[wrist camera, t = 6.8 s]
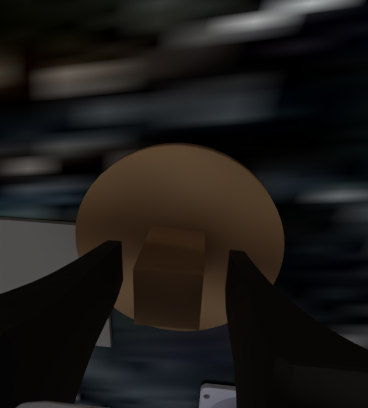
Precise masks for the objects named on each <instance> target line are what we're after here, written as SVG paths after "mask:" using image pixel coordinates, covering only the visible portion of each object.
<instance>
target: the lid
mask: <svg viewBox="0 0 368 408" xmlns="http://www.w3.org/2000/svg"><path fill="white" fill-rule="evenodd" d="M75 239H76V248H77V253H78V257H79V258H80V257H81V256H83V255H84V254H86V253H88V252H89V251H91V250H92V249H94V248H96V247H97V246H99V245H100V244H102V243H104V242H106V241H107V240H113V241H122V261H123V283H122V286H121V289H120V292H119V295H118V298H117V301H116V303H115V305H114V308H116V309H117V310H118V311H120V312H122V313H123V314H125V315H126V316H128V317H130V318H132V319H134V324H140V325H149V326H153V327H157V328H161V329H167V330H173V331H197V330H204V329H210V328H214V327H217V326H221V325H223V324H226V323H228V322H227V316H226V306H225V284H226V276H227V268H228V259H229V251H230V250H238V251H244V252H245V253H246V254H247V255H248V257H249V258H250V259H251V260H252V262H253V263H254V264H255V265H256V267H257V268H258V269H259V270H260V271H261V273H262V274H263V275H264V276H265V277H266V278H267V279H268V280H269V281H270V283H271V284H272V285H273V284H274V282H275V280H276V278H277V276H278V274H279V271H280V268H281V264H282V261H283V254H284V232H283V227H282V222H281V219H280V216H279V213H278V211H277V208H276V206H275V205H274V203H273V201H272V199H271V197H270V195H269V194H268V192H267V190H266V189H265V188H264V186H263V185H262V183H261V182H260V181H259V179H258V178H257V177H256V176H255V175H254V174H253V173H252V172H251V171H250V170H249V169H248V168H246V167H245V166H244V165H242V164H241V163H240V162H239V161H237V160H235V159H234V158H232V157H230V156H228V155H227V154H225V153H222V152H220V151H217V150H215V149H213V148H209V147H205V146H201V145H197V144H189V143H164V144H157V145H152V146H149V147H145V148H142V149H139V150H137V151H135V152H133V153H130V154H128V155H127V156H125V157H123V158H122V159H120V160H119V161H117V162H116V163H114V164H113V165H112V166H111V167H109V168H108V169H107V170H106V171H105V172H103V173H102V174H101V175H100V176H99V177H98V178H97V180H96V181H95V182H94V183H93V184H92V185H91V187H90V188H89V190H88V192H87V193H86V195H85V196H84V199H83V201H82V203H81V206H80V208H79V212H78V216H77V219H76V228H75Z"/></svg>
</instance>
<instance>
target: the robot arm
mask: <svg viewBox="0 0 368 408" xmlns="http://www.w3.org/2000/svg"><path fill="white" fill-rule="evenodd" d="M122 283H123V261H122V241H113V240H107V241H106V242H104V243H102V244H100V245H99V246H97V247H96V248H94V249H92V250H91V251H89V252H88V253H86V254H84V255H83V256H81V257H80V258H78V259H76V260H75V261H73V262H71V263H69V264H67V265H66V266H64V267H62V268H60V269H58V270H57V271H55V272H53V273H51V274H49V275H47V276H44V277H42V278H40V279H38V280H35V281H33V282H31V283H28V284H26V285H23V286H20V287H18V288H15V289H12V290H10V291H7V292H4V293H1V294H0V408H105V407H96V406H88V405H79V404H74V402H75V399H76V396H77V393H78V390H79V388H80V385H81V382H82V379H83V376H84V373H85V370H86V368H87V365H88V362H89V359H90V357H91V354H92V352H93V349H94V347H95V345H96V343H97V341H98V338H99V336H100V334H101V332H102V330H103V328H104V326H105V324H106V322H107V320H108V318H109V316H110V314H111V311H112V309H113V307H114V305H115V303H116V301H117V298H118V295H119V292H120V289H121V286H122ZM225 306H226V316H227V322H228V329H229V335H230V341H231V348H232V354H233V361H234V370H235V386H227V385H218V384H208V383H205V384H203V385H202V386H201V391H200V401H199V408H368V350H367V349H365V348H363V347H361V346H359V345H357V344H355V343H353V342H351V341H349V340H347V339H346V338H344V337H342V336H340V335H339V334H337V333H335V332H334V331H332V330H330V329H329V328H327V327H325V326H324V325H322V324H321V323H319V322H318V321H316V320H315V319H313V318H312V317H311V316H309V315H308V314H306V313H305V312H304V311H302V310H301V309H300V308H298V307H297V306H296V305H295V304H293V303H292V302H291V301H290V300H289V299H287V298H286V297H285V296H284V295H283V294H282V293H281V292H280V291H279V290H278V289H277V288H276V287H275V286H273V285H272V284H271V283H270V281H269V280H268V279H267V278H266V277H265V276H264V275H263V274H262V273H261V271H260V270H259V269H258V268H257V267H256V265H255V264H254V263H253V262H252V260H251V259H250V258H249V257H248V255H247V254H246V253H245V252H244V251H238V250H230V251H229V259H228V268H227V276H226V284H225Z"/></svg>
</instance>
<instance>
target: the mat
mask: <svg viewBox="0 0 368 408" xmlns="http://www.w3.org/2000/svg"><path fill="white" fill-rule="evenodd" d="M75 228H76V222H64V221H51V220H38V219H25V218H12V217H0V294H1V293H4V292H7V291H10V290H12V289H15V288H18V287H20V286H23V285H26V284H28V283H31V282H33V281H35V280H38V279H40V278H42V277H44V276H47V275H49V274H51V273H53V272H55V271H57V270H58V269H60V268H62V267H64V266H66V265H67V264H69V263H71V262H73V261H75V260H76V259H78V258H79V257H78V253H77V248H76V239H75ZM111 345H112V329H111V314H110V316H109V318H108V320H107V322H106V324H105V326H104V328H103V330H102V332H101V334H100V336H99V338H98V341H97V343H96V346H106V347H111Z"/></svg>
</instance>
